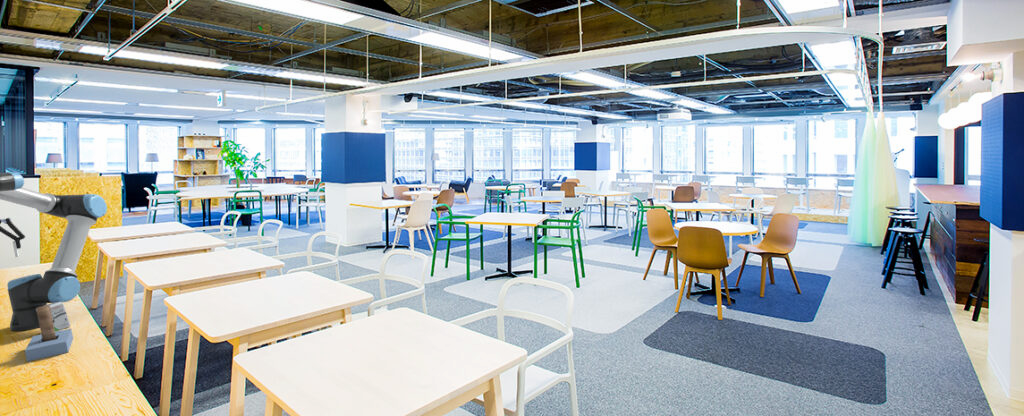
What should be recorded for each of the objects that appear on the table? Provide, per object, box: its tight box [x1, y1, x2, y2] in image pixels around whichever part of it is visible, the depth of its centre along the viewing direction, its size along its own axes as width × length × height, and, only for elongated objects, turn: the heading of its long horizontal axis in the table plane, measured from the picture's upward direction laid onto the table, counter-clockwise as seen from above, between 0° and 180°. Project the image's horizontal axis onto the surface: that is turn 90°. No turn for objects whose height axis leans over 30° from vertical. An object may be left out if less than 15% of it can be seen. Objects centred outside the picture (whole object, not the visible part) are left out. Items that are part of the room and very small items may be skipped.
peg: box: [36, 304, 56, 342], centre depth 201 cm, size 4×4×18 cm
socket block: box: [24, 328, 74, 362], centre depth 202 cm, size 18×12×4 cm, turn 37°
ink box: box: [36, 301, 71, 332], centre depth 224 cm, size 9×5×12 cm, turn 145°
